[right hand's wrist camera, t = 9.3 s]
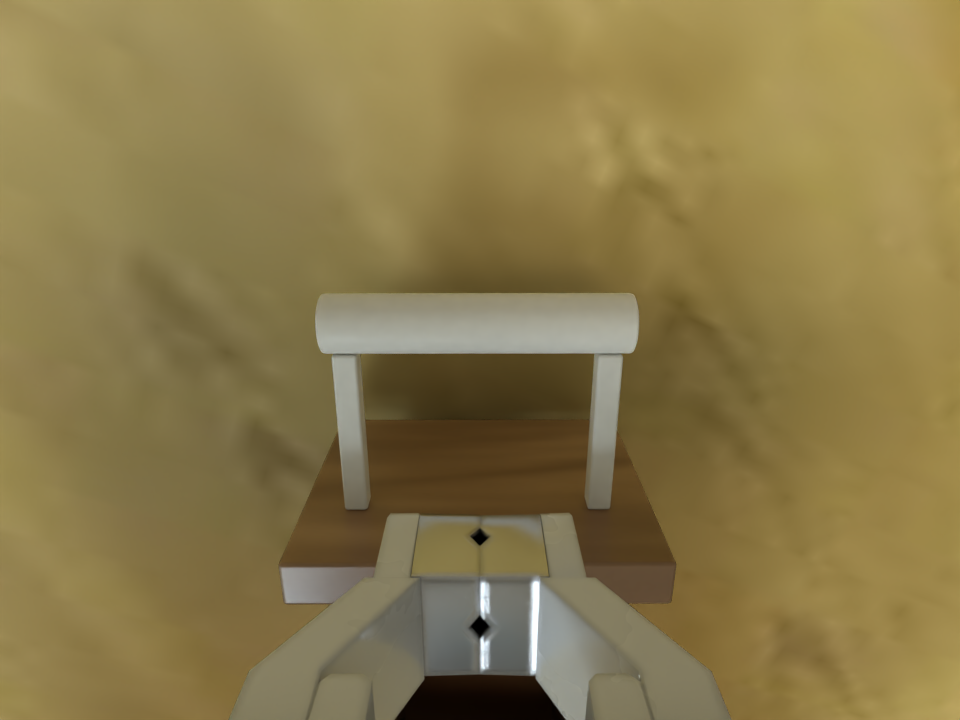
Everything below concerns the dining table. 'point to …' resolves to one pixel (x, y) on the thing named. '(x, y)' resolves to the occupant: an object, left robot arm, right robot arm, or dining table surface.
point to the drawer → (476, 463)
